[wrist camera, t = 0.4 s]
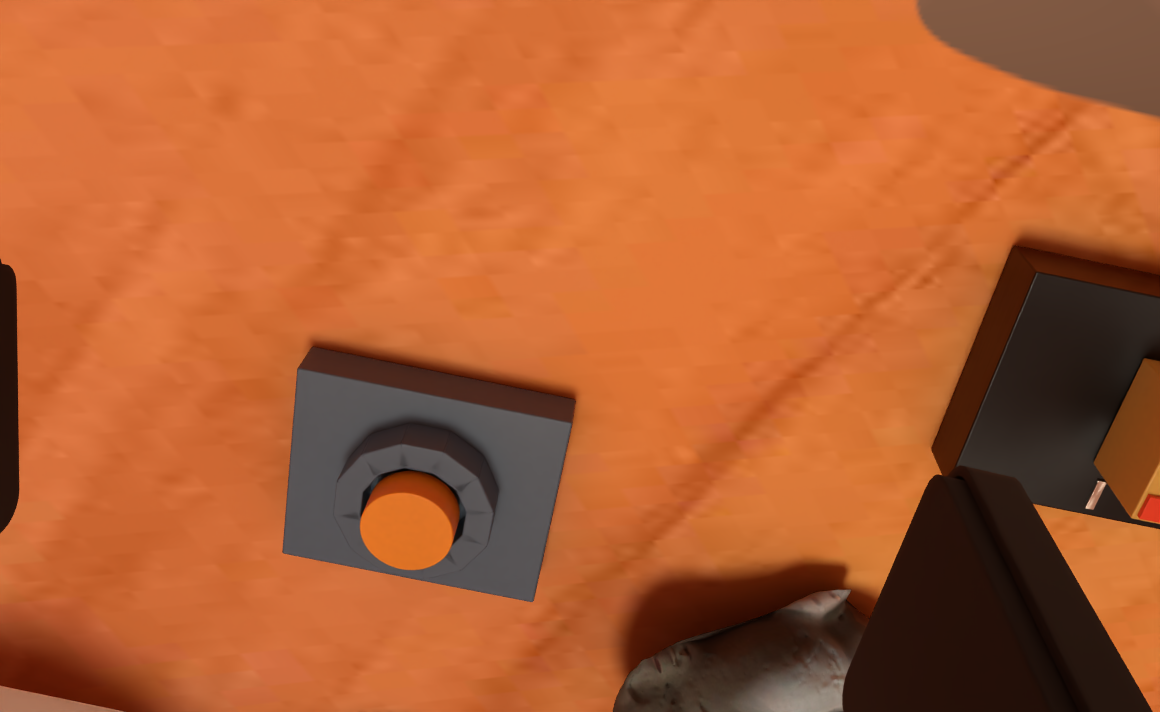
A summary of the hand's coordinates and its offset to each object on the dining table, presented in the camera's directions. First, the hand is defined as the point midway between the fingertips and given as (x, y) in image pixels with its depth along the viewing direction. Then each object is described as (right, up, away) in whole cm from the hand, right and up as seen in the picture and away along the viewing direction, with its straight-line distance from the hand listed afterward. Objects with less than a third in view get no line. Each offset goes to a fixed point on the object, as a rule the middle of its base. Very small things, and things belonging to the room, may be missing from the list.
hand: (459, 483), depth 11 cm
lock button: (-6, -5, +36) cm, 37 cm away
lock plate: (+24, 0, +35) cm, 42 cm away
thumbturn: (+23, -1, +32) cm, 40 cm away
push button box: (-6, -4, +39) cm, 40 cm away
